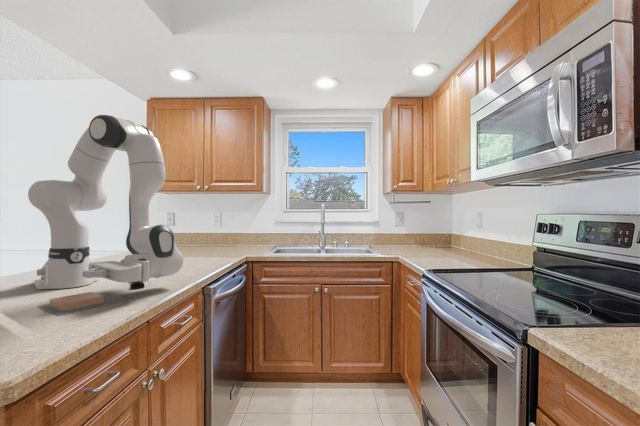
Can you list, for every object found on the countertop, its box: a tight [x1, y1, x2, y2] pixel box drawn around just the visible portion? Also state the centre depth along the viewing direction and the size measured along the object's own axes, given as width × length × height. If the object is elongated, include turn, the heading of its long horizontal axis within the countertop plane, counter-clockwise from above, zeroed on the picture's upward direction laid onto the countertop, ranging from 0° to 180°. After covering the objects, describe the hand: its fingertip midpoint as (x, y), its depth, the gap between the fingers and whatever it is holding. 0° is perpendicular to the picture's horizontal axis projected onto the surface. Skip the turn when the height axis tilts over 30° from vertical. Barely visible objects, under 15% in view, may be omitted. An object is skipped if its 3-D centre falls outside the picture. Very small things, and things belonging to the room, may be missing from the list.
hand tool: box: [130, 281, 145, 290], centre depth 118 cm, size 19×4×5 cm, turn 28°
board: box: [37, 292, 130, 317], centre depth 92 cm, size 14×18×2 cm
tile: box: [49, 291, 103, 312], centre depth 90 cm, size 8×2×10 cm
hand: (84, 274), depth 91 cm, fingers closed
